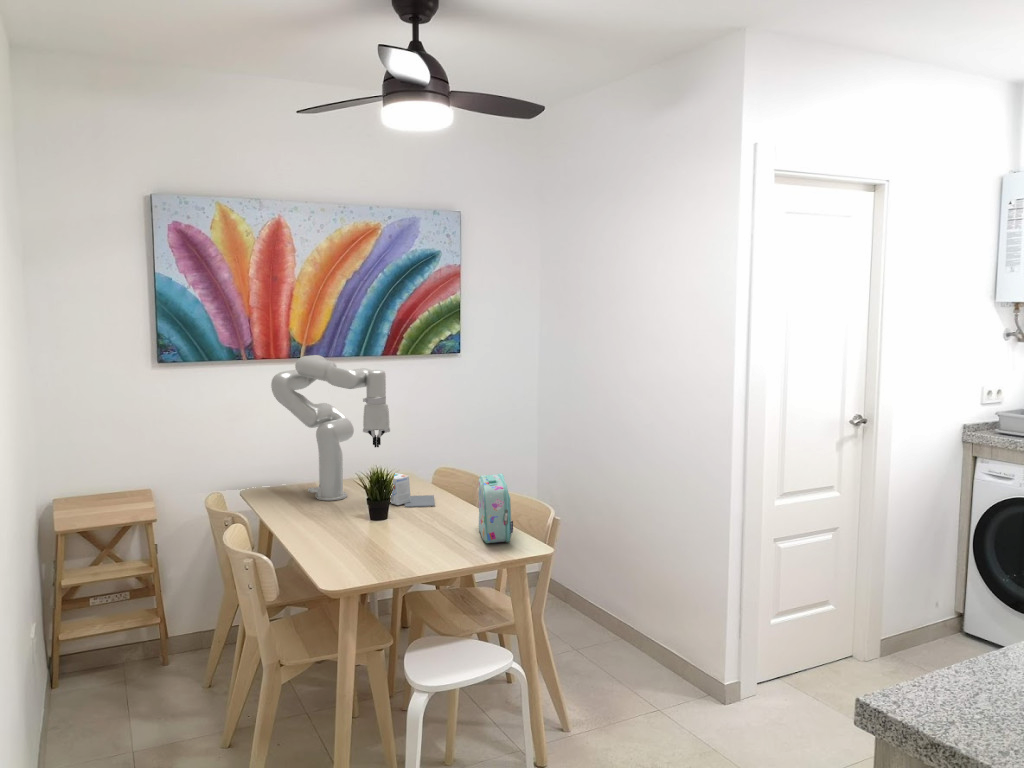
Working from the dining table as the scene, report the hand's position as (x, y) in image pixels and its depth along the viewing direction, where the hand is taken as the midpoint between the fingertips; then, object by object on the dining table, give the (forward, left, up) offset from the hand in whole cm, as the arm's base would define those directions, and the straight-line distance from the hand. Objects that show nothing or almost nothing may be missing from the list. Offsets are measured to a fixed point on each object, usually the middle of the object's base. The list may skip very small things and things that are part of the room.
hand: (376, 446), depth 312 cm
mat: (+17, 0, -23) cm, 29 cm away
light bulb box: (+8, 0, -23) cm, 24 cm away
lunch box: (+42, -48, -23) cm, 68 cm away
